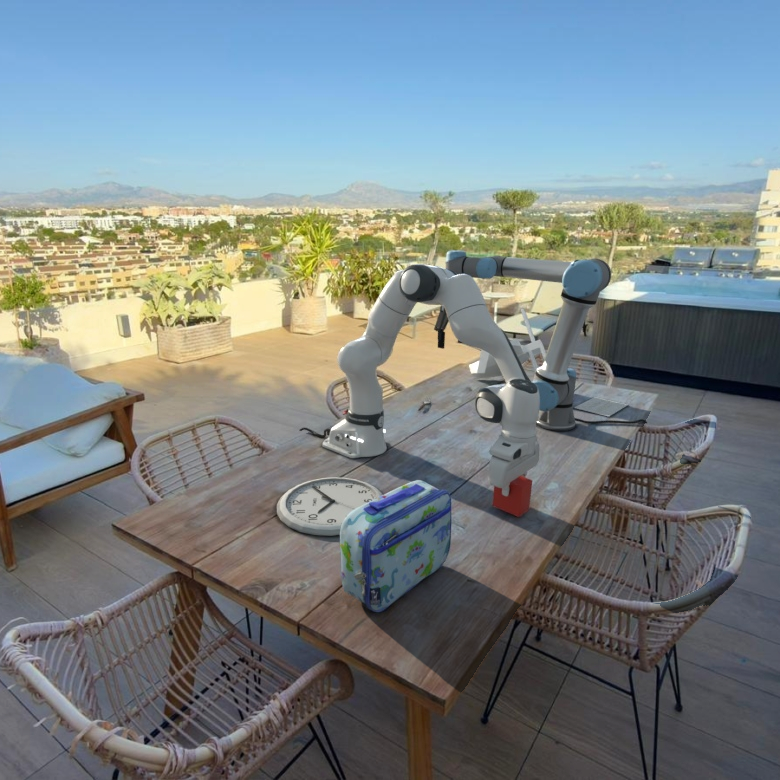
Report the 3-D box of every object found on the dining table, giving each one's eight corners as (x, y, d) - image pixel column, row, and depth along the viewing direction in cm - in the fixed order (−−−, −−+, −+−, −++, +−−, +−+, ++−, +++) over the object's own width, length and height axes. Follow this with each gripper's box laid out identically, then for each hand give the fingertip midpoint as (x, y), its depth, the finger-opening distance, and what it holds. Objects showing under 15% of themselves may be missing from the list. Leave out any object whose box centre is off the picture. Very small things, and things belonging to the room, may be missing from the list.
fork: (415, 411, 216) (415, 406, 216) (426, 400, 231) (426, 395, 230) (421, 412, 216) (421, 407, 215) (432, 400, 230) (432, 396, 229)
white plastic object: (490, 421, 263) (470, 398, 238) (471, 347, 285) (451, 320, 260) (562, 397, 251) (549, 370, 226) (536, 322, 273) (522, 290, 248)
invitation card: (608, 416, 214) (573, 407, 224) (608, 416, 214) (573, 408, 224) (628, 404, 229) (594, 396, 238) (628, 405, 229) (594, 397, 238)
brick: (502, 498, 145) (505, 470, 142) (529, 509, 140) (532, 480, 137) (492, 505, 141) (494, 476, 139) (519, 517, 136) (522, 487, 133)
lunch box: (369, 626, 100) (370, 530, 93) (334, 598, 107) (332, 507, 101) (455, 567, 117) (460, 483, 111) (419, 547, 124) (423, 467, 118)
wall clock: (392, 527, 129) (268, 531, 127) (391, 533, 130) (269, 537, 127) (383, 473, 158) (282, 475, 155) (383, 478, 158) (282, 480, 156)
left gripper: (526, 428, 144) (521, 473, 148) (485, 450, 130) (481, 499, 134) (547, 434, 140) (542, 481, 144) (508, 457, 125) (503, 508, 130)
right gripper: (464, 288, 214) (461, 339, 220) (426, 293, 196) (424, 348, 203) (480, 290, 209) (476, 342, 215) (442, 295, 191) (439, 351, 198)
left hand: (512, 490), depth 139 cm, fingers closed on brick, 5 cm apart
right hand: (451, 345), depth 209 cm, fingers open, 13 cm apart
